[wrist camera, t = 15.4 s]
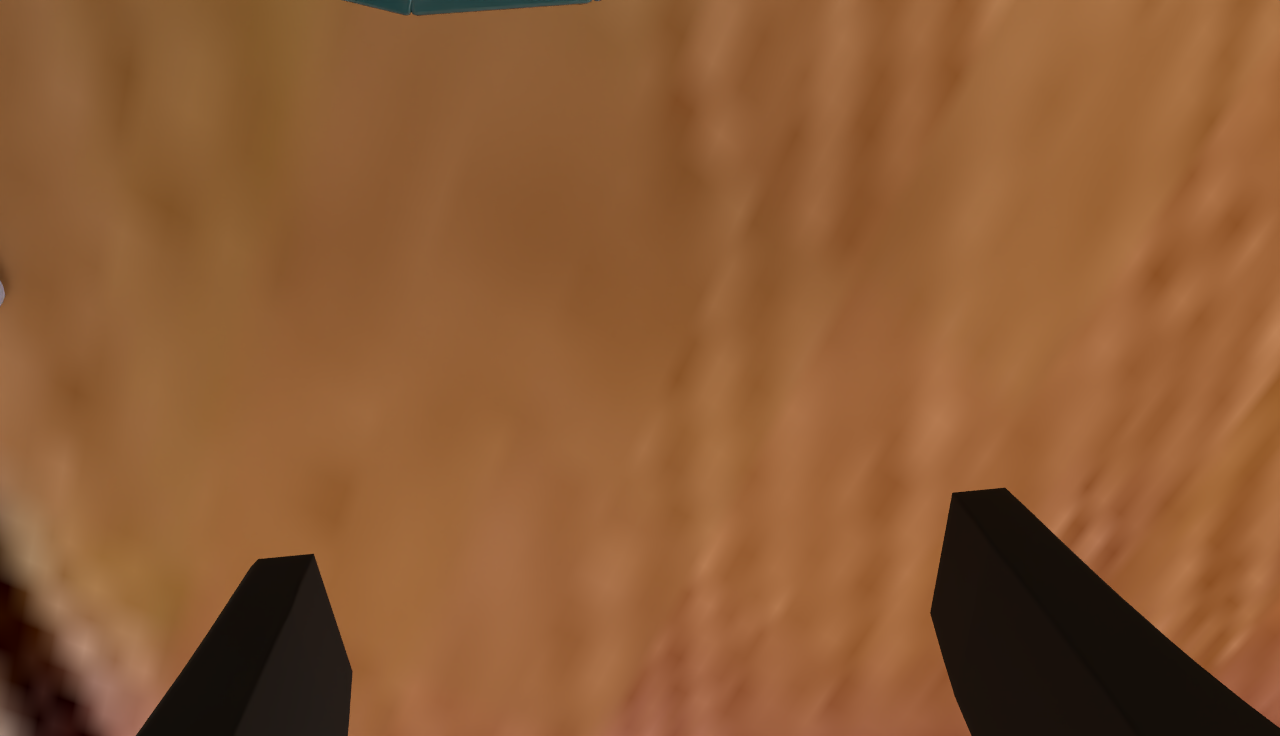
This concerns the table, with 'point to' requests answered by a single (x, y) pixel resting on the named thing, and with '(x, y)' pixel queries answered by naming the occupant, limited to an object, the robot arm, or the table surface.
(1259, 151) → the table surface
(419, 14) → the bowl
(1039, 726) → the robot arm
